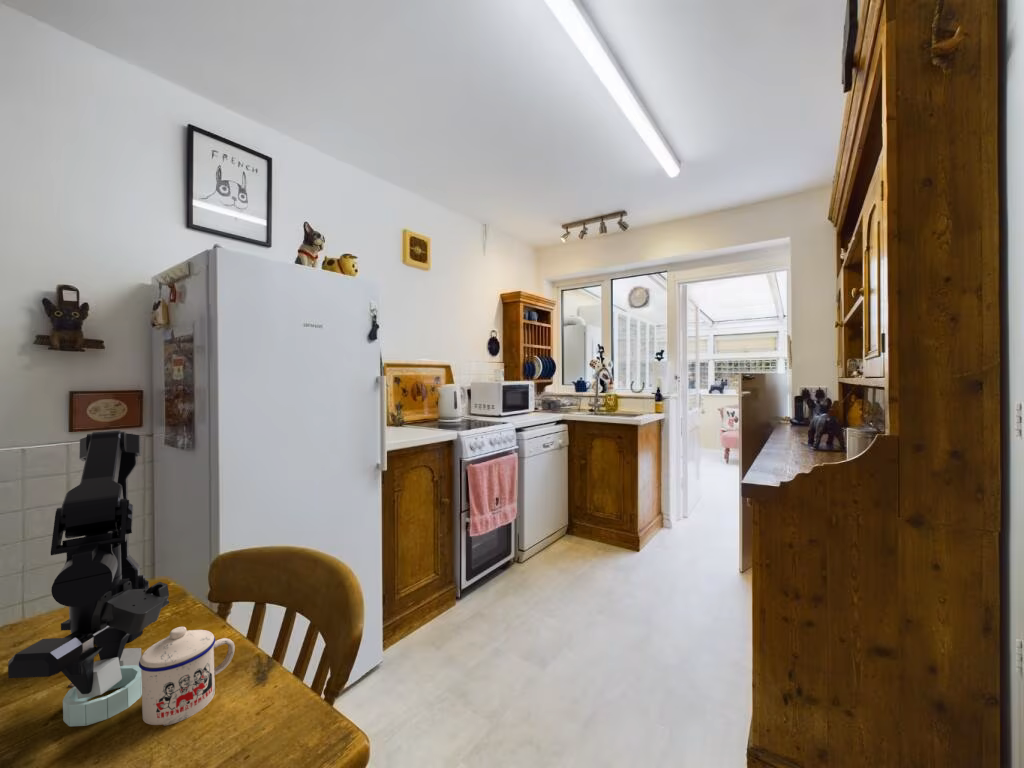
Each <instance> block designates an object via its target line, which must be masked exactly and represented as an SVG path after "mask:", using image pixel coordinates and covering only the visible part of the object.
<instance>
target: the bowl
mask: <svg viewBox="0 0 1024 768" xmlns="http://www.w3.org/2000/svg"><path fill="white" fill-rule="evenodd" d="M120 669H121V675H122V679H121V680H120V681H119V682H117V683H116V684H115V685H113V686H112V687H111V688H109V689H108V690H107V691H105V692H104V693H106V692H109V691H112V690H115V691H113V692H112V693H110V694H108V695H105V696H104V695H103V696H101V697H98V698H95V697H96V696H92V697H86V698H81V699H78V697H77V691H76V687H75V686H74V687H70V689H68V691H67V692H66V694H65V695H64V697H63V698H62V717H63V718H62V719H63V722H64V723H65V724H66V725H67V726H68V727H83V726H84V727H85V726H89V725H93V724H96V723H99V722H102V721H105V720H108V719H110V718H112V717H114V716H116V715H118V714H120V713H122V712H123V711H125V710H127V709H129V708H130V707H131V706H132V705H134V704H135V703H136V702H137V701H138V700H139V699H141V698H142V679H141V668H140V667H139V666H138V665H129V666H120ZM119 688H120V689H119ZM116 689H117V690H116ZM92 698H95V699H92ZM91 699H92V700H91Z"/></svg>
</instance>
